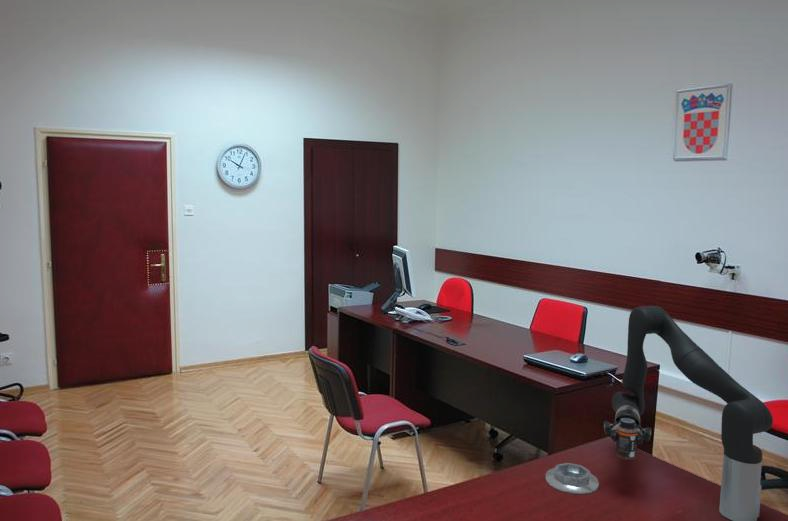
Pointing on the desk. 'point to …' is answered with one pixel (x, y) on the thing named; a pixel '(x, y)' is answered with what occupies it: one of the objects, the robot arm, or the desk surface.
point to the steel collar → (572, 479)
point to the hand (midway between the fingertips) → (626, 440)
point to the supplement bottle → (626, 439)
